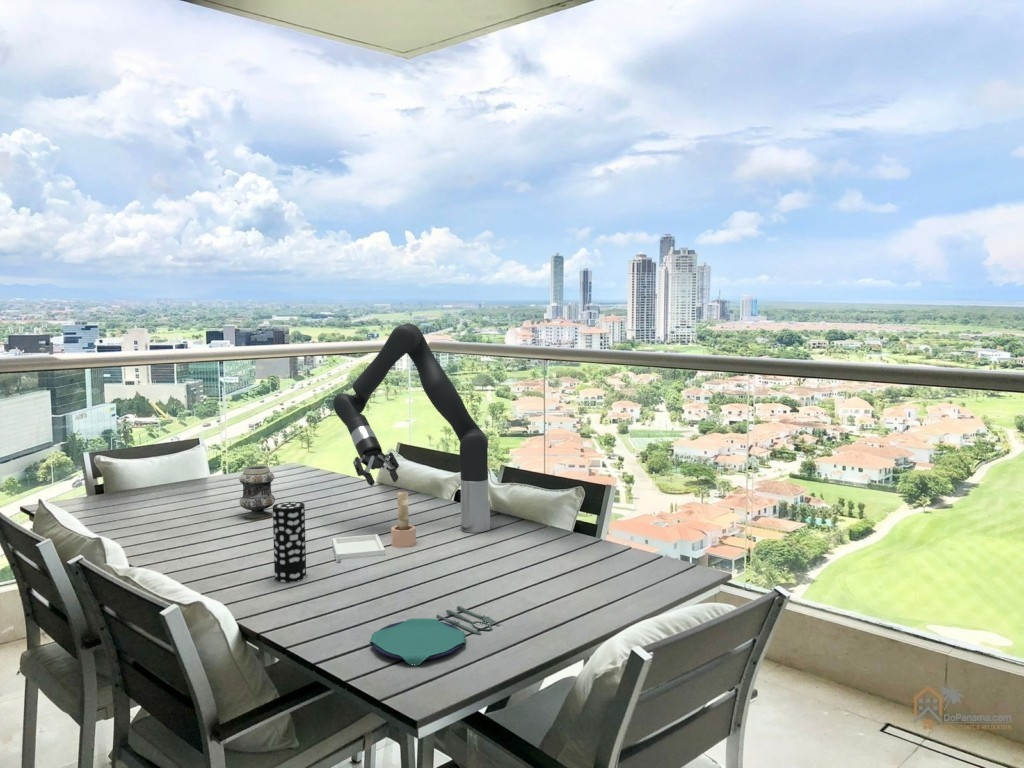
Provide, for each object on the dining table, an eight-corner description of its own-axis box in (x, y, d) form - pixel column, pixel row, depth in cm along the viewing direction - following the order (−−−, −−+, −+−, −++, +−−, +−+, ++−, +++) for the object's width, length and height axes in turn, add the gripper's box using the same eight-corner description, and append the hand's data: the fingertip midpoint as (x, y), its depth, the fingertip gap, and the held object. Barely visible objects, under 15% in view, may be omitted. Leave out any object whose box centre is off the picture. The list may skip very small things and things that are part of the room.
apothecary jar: (275, 511, 273) (273, 463, 272) (275, 519, 262) (274, 469, 261) (240, 513, 270) (238, 465, 268) (239, 522, 258) (237, 471, 257)
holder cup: (413, 542, 234) (413, 523, 234) (417, 549, 227) (417, 530, 227) (389, 544, 232) (389, 525, 232) (393, 551, 225) (392, 532, 224)
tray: (377, 542, 235) (377, 534, 235) (385, 558, 219) (385, 549, 218) (332, 546, 231) (332, 538, 230) (336, 562, 214) (336, 554, 214)
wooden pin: (407, 541, 232) (407, 491, 230) (409, 544, 229) (408, 493, 227) (397, 542, 231) (396, 492, 229) (399, 545, 228) (398, 494, 226)
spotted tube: (297, 583, 197) (295, 510, 196) (268, 581, 199) (266, 508, 197) (311, 573, 206) (310, 502, 204) (284, 571, 207) (282, 501, 206)
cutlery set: (353, 645, 160) (353, 635, 159) (455, 609, 182) (455, 599, 181) (412, 677, 146) (412, 665, 146) (514, 633, 168) (515, 623, 168)
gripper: (350, 437, 237) (368, 478, 230) (388, 433, 247) (407, 472, 239) (342, 452, 242) (360, 492, 234) (380, 447, 251) (399, 486, 243)
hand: (384, 482), depth 236 cm, fingers open, 8 cm apart
